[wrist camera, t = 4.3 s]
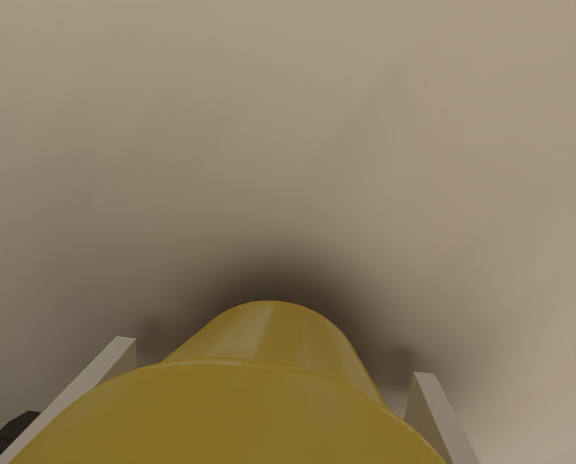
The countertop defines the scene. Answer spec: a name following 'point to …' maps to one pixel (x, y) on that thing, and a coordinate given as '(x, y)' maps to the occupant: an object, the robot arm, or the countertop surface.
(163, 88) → the countertop surface
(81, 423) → the plant pot
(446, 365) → the countertop surface
